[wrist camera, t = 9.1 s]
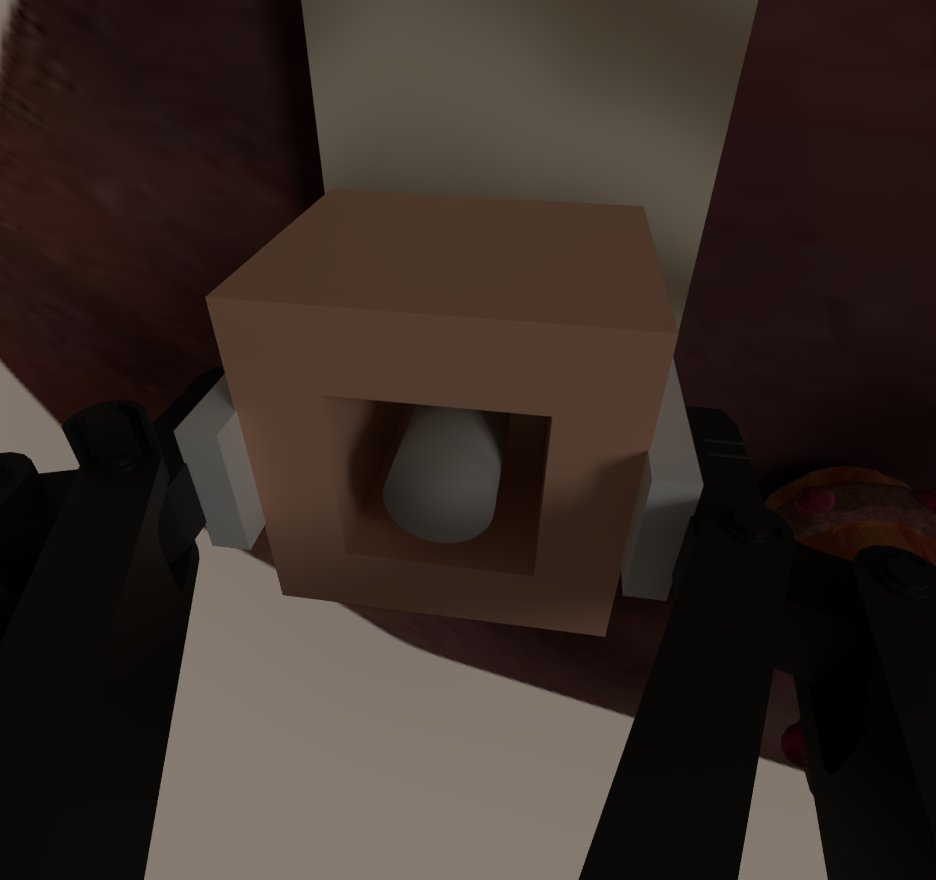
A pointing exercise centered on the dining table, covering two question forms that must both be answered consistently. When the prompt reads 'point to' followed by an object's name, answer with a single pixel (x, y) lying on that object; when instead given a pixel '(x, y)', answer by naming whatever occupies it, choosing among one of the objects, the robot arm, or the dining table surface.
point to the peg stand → (522, 153)
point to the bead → (451, 393)
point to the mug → (852, 530)
